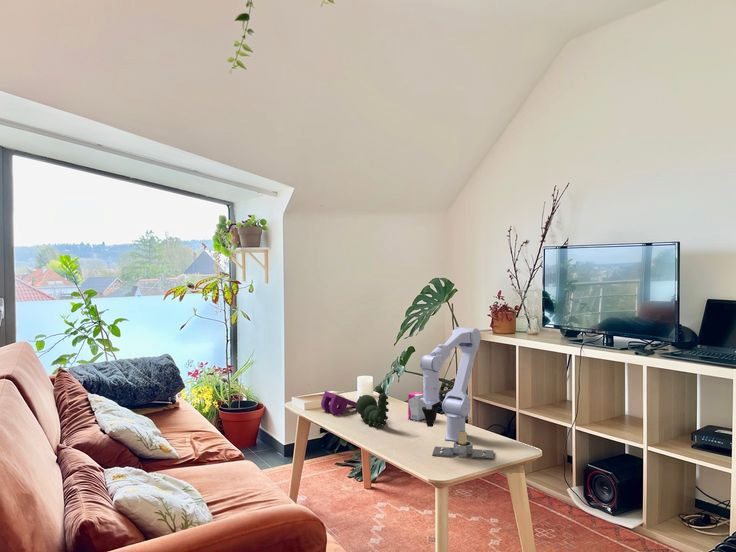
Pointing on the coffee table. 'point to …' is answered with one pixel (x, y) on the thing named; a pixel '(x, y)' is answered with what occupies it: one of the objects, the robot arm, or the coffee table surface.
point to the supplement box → (415, 406)
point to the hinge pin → (462, 438)
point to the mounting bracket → (335, 403)
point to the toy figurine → (373, 408)
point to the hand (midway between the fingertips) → (431, 423)
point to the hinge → (463, 451)
